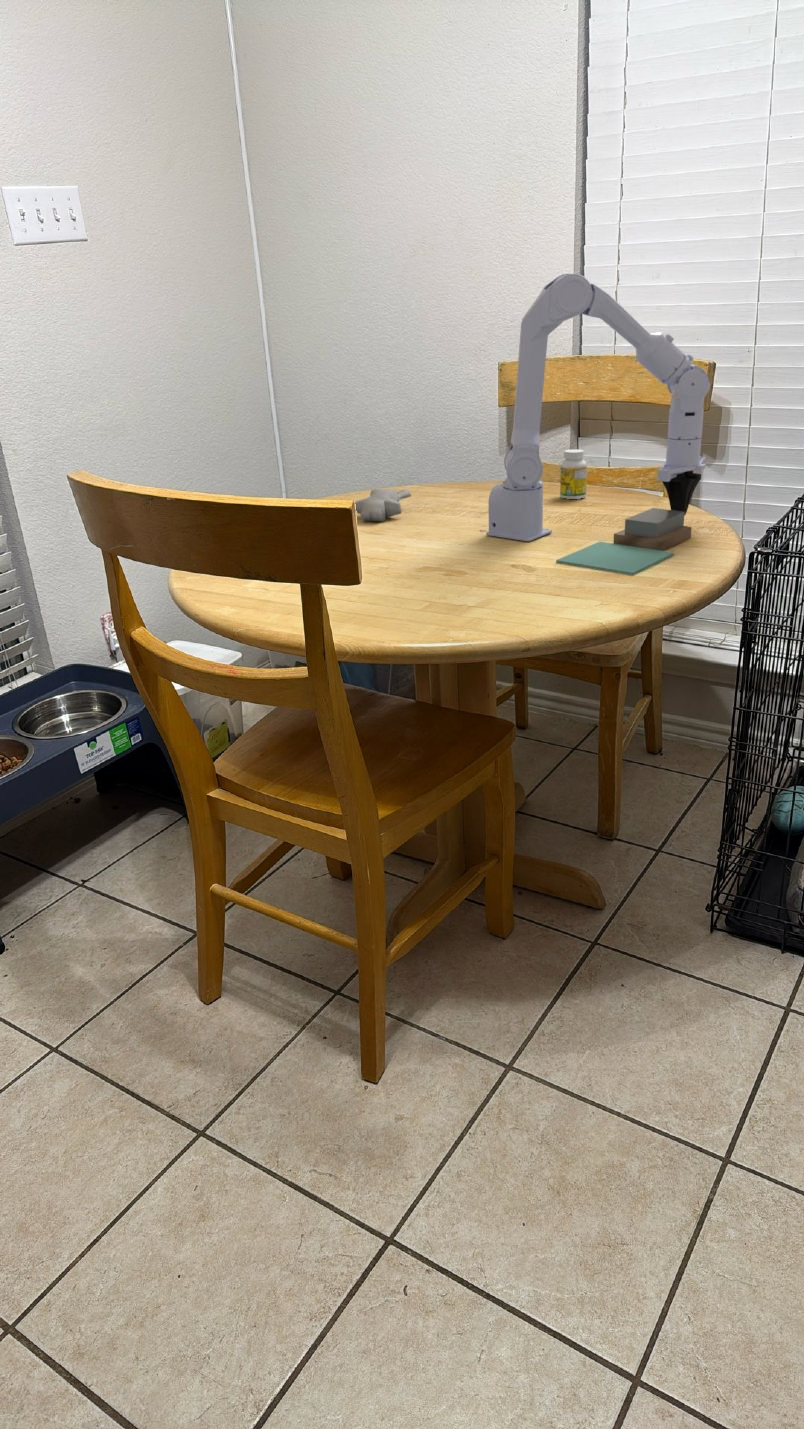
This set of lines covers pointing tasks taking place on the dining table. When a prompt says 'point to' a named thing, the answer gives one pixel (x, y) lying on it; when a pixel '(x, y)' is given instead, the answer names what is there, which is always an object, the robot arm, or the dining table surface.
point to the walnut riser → (654, 539)
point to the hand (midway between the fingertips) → (678, 515)
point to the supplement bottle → (573, 475)
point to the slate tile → (654, 522)
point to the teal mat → (615, 558)
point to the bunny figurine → (381, 504)
